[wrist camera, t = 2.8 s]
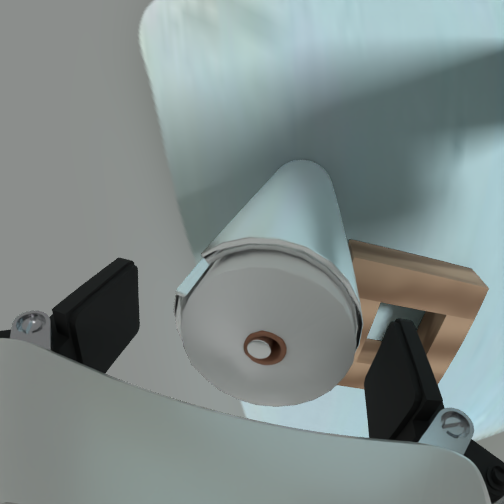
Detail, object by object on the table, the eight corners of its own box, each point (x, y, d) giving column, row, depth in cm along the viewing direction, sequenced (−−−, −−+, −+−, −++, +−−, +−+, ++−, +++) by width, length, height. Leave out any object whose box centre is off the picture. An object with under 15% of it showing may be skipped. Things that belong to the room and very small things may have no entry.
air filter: (319, 149, 30) (327, 214, 8) (342, 208, 32) (384, 395, 9) (260, 173, 32) (125, 288, 10) (284, 229, 34) (217, 424, 11)
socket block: (349, 239, 33) (354, 257, 28) (471, 268, 31) (488, 288, 26) (314, 354, 39) (312, 380, 35) (422, 371, 37) (429, 396, 33)
